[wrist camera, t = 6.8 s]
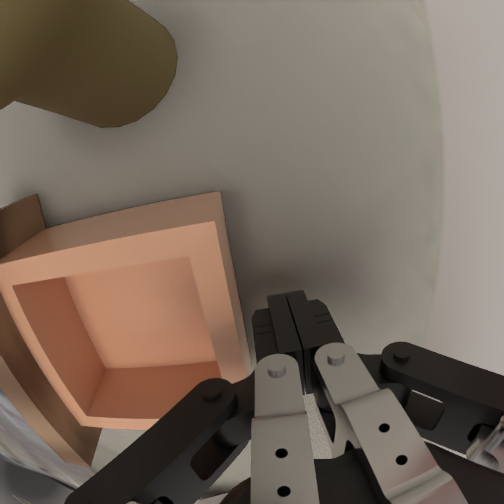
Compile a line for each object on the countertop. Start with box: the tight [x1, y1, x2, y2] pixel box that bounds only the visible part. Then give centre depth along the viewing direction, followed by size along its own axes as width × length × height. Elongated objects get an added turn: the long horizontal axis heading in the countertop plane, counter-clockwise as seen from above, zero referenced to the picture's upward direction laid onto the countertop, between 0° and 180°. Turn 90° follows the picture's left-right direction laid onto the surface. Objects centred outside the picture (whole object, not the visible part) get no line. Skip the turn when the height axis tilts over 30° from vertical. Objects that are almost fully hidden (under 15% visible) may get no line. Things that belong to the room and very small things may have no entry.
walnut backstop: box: [0, 194, 102, 467], centre depth 12 cm, size 14×2×7 cm, turn 8°
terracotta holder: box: [0, 191, 252, 430], centre depth 13 cm, size 10×10×5 cm
